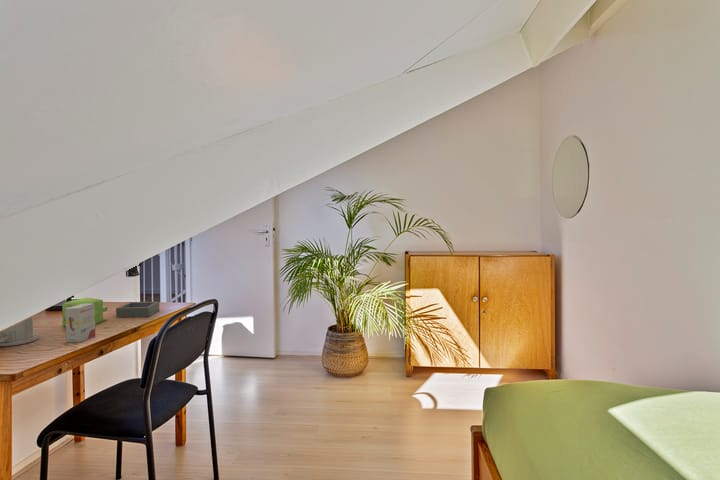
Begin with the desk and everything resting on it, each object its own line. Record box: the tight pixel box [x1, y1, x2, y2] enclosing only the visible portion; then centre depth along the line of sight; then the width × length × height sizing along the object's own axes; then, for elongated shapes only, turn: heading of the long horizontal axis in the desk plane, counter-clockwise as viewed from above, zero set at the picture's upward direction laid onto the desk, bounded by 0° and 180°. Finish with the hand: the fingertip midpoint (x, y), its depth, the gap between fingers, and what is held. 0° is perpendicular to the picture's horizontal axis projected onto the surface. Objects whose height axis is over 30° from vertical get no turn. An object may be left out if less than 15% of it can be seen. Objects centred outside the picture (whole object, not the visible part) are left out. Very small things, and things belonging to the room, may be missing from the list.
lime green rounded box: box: [61, 297, 108, 327], centre depth 160 cm, size 18×10×10 cm, turn 168°
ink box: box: [65, 303, 96, 343], centre depth 141 cm, size 9×5×12 cm, turn 0°
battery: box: [125, 266, 140, 278], centre depth 177 cm, size 7×4×11 cm, turn 2°
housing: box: [115, 301, 160, 319], centre depth 179 cm, size 13×13×4 cm
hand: (133, 265), depth 177 cm, fingers closed on battery, 4 cm apart
